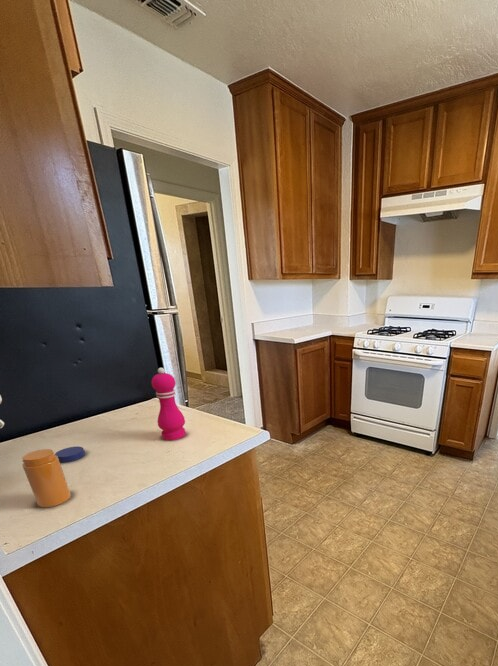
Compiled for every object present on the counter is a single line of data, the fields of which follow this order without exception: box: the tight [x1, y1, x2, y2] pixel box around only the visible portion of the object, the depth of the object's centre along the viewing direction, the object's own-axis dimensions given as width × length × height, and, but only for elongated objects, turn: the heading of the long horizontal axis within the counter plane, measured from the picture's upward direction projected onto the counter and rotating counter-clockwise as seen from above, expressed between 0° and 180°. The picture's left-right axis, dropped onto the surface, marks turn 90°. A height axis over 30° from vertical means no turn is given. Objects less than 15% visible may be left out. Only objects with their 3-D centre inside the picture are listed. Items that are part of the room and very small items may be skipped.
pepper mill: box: [151, 367, 186, 441], centre depth 98 cm, size 7×7×20 cm
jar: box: [21, 448, 72, 508], centre depth 70 cm, size 6×6×10 cm
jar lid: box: [54, 445, 86, 464], centre depth 90 cm, size 6×6×2 cm
